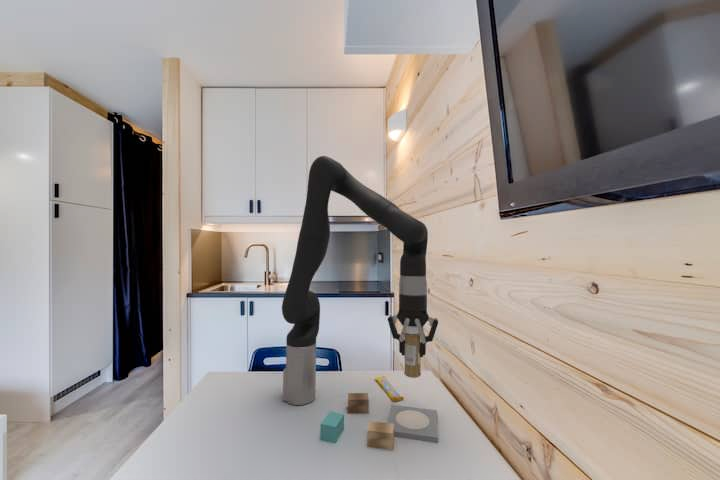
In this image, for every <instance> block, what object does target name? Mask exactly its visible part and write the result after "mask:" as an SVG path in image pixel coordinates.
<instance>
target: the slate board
mask: <svg viewBox="0 0 720 480" xmlns="http://www.w3.org/2000/svg"><path fill="white" fill-rule="evenodd" d="M386 423H391V424H394V437H399V438H404V439H409V440H410V439H412V440H416V441H423V442H431V443H436V444H437V443H439V433H438V431H439V430H438V428H439V427H438V411H437V409H430V408H429V409H428V408H422V407H414V406H406V405H398V404H392V403H391V406H390V408H389V413H388V416H387V421H386Z"/></svg>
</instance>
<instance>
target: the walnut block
mask: <svg viewBox="0 0 720 480" xmlns="http://www.w3.org/2000/svg"><path fill="white" fill-rule="evenodd" d="M369 401H370V399H369V393H368V392H360V393H359V392H348V393H347V414H369V412H370V411H369V410H370V402H369Z"/></svg>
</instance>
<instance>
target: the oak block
mask: <svg viewBox="0 0 720 480" xmlns="http://www.w3.org/2000/svg"><path fill="white" fill-rule="evenodd" d="M366 431H367V432H366V433H367V434H366V435H367V446H366V447H367V448H371V449H372V448H375V449H379V450H380V449H382V450H387V451H388V450H390V451H393V449H394V442H395V436H394V424H391V423H387V422H380V421H373V420H370V421H369V424H368V427H367V430H366Z"/></svg>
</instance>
